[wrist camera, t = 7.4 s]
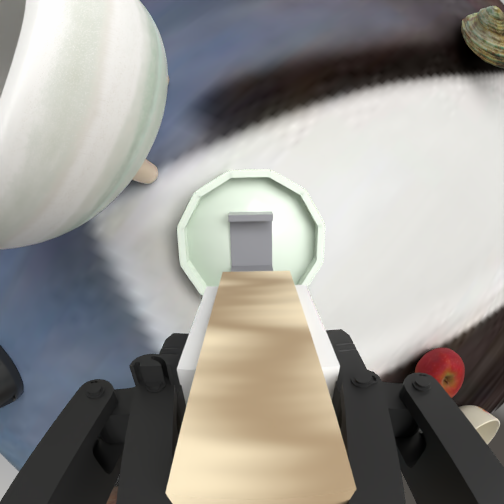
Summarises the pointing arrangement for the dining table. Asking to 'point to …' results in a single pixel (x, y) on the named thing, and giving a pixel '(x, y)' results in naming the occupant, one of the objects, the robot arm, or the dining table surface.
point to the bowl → (481, 421)
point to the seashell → (486, 35)
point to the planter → (74, 111)
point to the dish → (250, 229)
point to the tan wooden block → (259, 405)
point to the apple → (443, 368)
